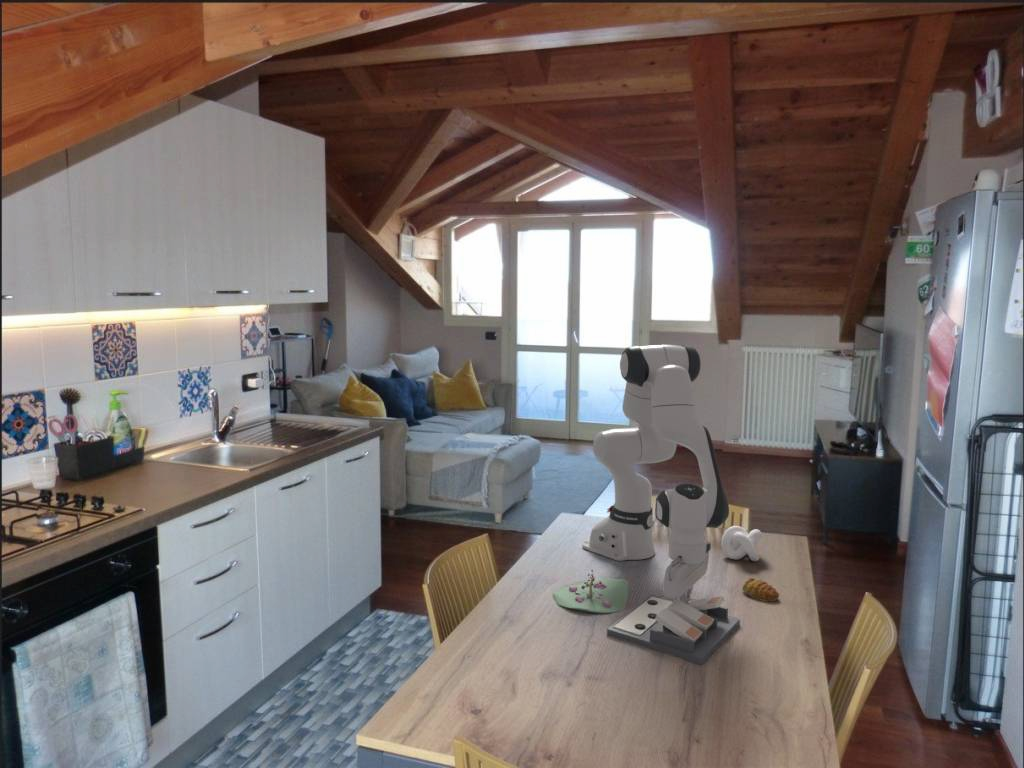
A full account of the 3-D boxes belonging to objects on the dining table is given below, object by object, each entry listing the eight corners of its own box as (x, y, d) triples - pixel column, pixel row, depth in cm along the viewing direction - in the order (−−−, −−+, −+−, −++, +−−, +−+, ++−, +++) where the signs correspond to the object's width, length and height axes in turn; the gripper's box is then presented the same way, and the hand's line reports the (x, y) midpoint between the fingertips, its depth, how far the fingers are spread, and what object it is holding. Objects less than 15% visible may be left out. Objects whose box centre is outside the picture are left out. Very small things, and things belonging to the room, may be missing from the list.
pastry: (784, 598, 208) (785, 585, 207) (769, 605, 204) (770, 592, 203) (754, 587, 215) (754, 574, 214) (739, 593, 211) (739, 580, 210)
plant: (578, 572, 225) (578, 543, 224) (646, 586, 216) (647, 555, 214) (540, 606, 204) (540, 573, 202) (614, 623, 194) (615, 589, 193)
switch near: (654, 619, 182) (656, 614, 181) (663, 611, 186) (665, 607, 185) (692, 644, 177) (694, 640, 176) (700, 636, 181) (702, 631, 180)
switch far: (680, 612, 193) (678, 607, 193) (688, 605, 197) (687, 600, 197) (717, 607, 187) (715, 602, 187) (724, 600, 191) (722, 595, 191)
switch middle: (666, 610, 187) (668, 605, 187) (675, 602, 191) (677, 598, 191) (704, 631, 182) (706, 626, 182) (712, 623, 186) (714, 618, 186)
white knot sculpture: (771, 564, 230) (773, 535, 229) (733, 567, 228) (734, 537, 227) (754, 550, 241) (755, 523, 240) (717, 552, 240) (718, 525, 238)
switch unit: (606, 634, 187) (607, 619, 186) (650, 599, 206) (651, 585, 206) (702, 665, 173) (702, 648, 172) (739, 624, 192) (740, 609, 192)
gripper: (682, 567, 182) (680, 622, 185) (713, 541, 199) (711, 592, 201) (657, 561, 186) (655, 615, 188) (690, 536, 202) (688, 586, 205)
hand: (684, 603), depth 195 cm, fingers closed
